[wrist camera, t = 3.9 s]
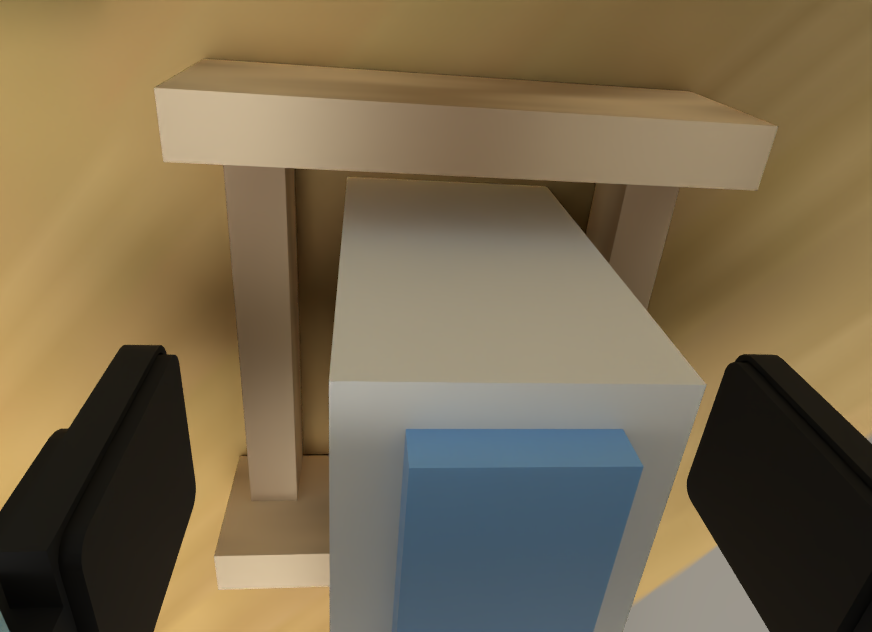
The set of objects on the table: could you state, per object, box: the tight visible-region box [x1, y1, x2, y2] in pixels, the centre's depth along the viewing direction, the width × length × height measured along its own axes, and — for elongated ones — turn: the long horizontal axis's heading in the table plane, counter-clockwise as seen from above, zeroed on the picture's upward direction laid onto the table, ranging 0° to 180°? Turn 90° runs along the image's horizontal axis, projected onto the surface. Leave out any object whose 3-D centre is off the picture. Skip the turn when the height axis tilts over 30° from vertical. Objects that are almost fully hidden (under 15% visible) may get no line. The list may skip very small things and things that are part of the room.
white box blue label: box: [329, 177, 706, 632], centre depth 11 cm, size 4×6×8 cm, turn 176°
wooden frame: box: [154, 59, 778, 590], centre depth 13 cm, size 9×10×3 cm
